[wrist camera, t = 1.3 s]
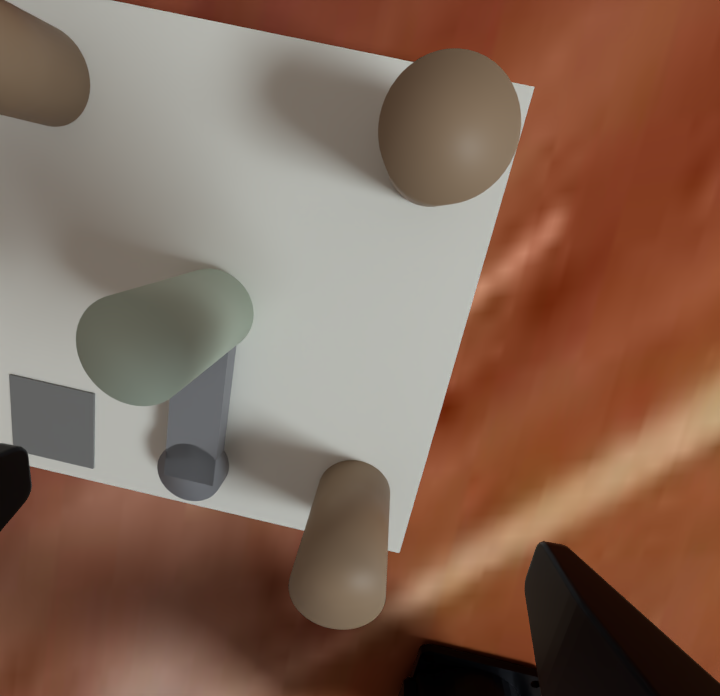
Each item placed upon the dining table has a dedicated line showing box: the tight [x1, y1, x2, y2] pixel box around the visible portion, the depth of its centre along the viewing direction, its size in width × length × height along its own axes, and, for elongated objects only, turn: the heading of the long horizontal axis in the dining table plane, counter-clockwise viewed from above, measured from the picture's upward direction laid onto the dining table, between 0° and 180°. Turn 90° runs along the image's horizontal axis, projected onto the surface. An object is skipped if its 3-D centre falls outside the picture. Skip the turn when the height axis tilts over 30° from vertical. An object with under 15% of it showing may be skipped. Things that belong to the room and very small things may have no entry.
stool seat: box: [0, 0, 534, 630], centre depth 15 cm, size 18×18×7 cm
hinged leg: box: [76, 269, 254, 501], centre depth 14 cm, size 9×3×5 cm, turn 169°
